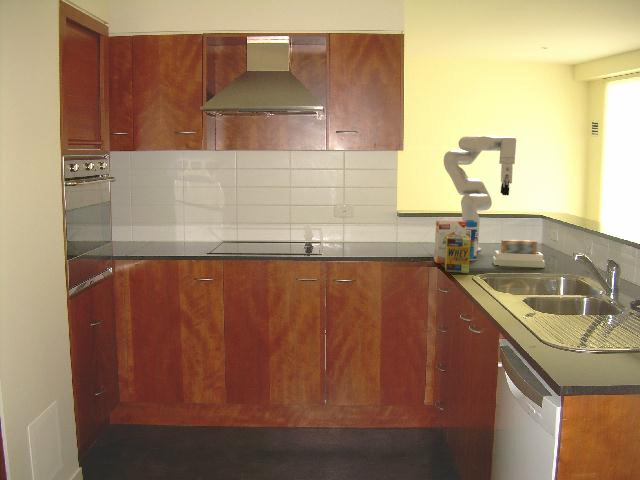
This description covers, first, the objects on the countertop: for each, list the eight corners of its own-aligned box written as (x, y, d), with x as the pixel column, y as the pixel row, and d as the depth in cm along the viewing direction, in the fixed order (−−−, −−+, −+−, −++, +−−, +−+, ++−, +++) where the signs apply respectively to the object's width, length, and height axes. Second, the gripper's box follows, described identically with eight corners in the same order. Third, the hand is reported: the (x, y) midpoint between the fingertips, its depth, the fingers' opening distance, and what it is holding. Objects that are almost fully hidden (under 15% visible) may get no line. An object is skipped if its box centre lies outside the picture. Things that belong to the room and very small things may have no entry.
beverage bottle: (457, 258, 314) (458, 220, 311) (470, 257, 317) (472, 219, 314) (466, 261, 306) (468, 221, 303) (480, 260, 309) (482, 221, 306)
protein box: (445, 272, 277) (447, 238, 275) (444, 266, 292) (445, 234, 290) (469, 273, 275) (470, 239, 273) (467, 267, 290) (468, 235, 288)
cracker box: (437, 263, 298) (438, 221, 295) (433, 261, 304) (435, 220, 301) (465, 263, 299) (466, 221, 296) (460, 261, 305) (462, 220, 302)
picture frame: (502, 259, 296) (503, 240, 295) (500, 257, 300) (501, 239, 299) (536, 260, 294) (537, 241, 292) (534, 258, 298) (535, 240, 297)
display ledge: (494, 265, 295) (495, 253, 294) (492, 262, 304) (493, 250, 303) (544, 267, 290) (545, 255, 289) (540, 264, 300) (541, 252, 299)
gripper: (516, 161, 302) (514, 196, 305) (512, 160, 319) (510, 193, 321) (501, 161, 303) (498, 195, 306) (498, 160, 320) (495, 192, 323)
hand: (504, 194), depth 314 cm, fingers open, 9 cm apart
